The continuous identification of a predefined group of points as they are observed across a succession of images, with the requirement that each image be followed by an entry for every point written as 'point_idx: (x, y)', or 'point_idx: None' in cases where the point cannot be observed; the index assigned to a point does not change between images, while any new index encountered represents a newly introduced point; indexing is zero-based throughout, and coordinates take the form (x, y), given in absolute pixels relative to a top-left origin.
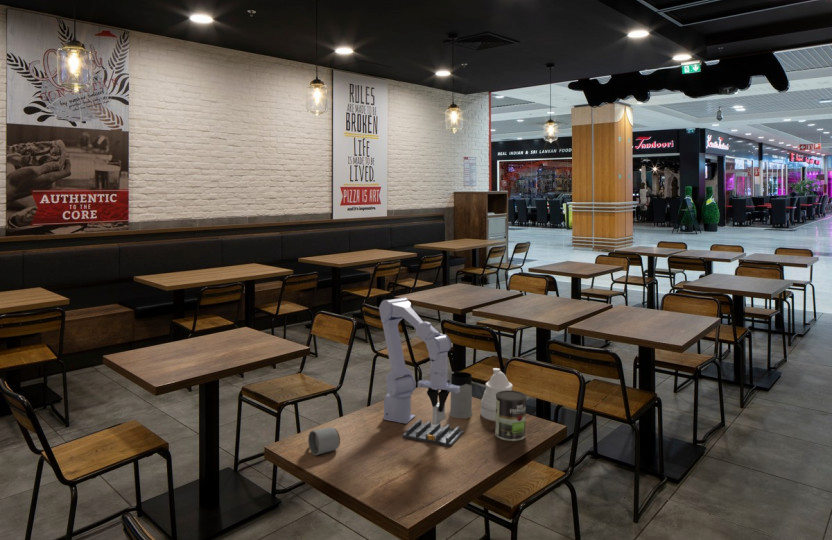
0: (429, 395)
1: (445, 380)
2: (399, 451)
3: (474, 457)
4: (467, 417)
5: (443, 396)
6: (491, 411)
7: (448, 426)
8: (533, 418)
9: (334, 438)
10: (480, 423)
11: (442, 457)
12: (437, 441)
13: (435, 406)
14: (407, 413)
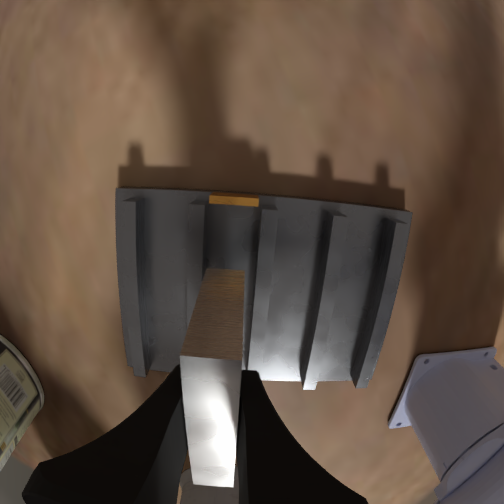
0: (318, 485)
1: None
2: (360, 42)
3: (10, 133)
4: (186, 470)
5: (55, 465)
6: None
7: None
8: (34, 466)
9: None
10: None
11: (125, 56)
12: (193, 190)
13: (212, 373)
14: (427, 401)
